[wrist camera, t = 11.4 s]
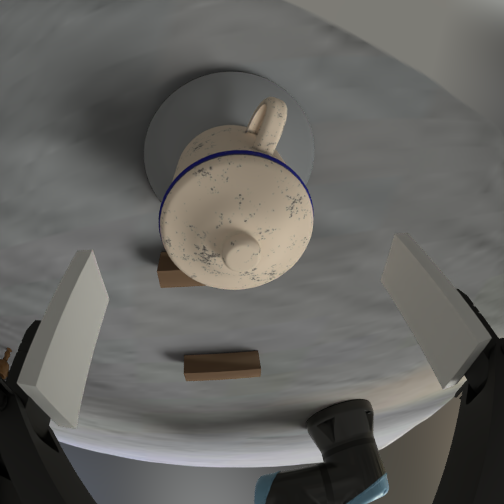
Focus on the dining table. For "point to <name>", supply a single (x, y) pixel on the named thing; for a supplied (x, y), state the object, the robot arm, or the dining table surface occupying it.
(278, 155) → the teacup with lid
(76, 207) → the dining table surface
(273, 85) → the grey flat disc
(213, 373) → the walnut cradle
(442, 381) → the robot arm
